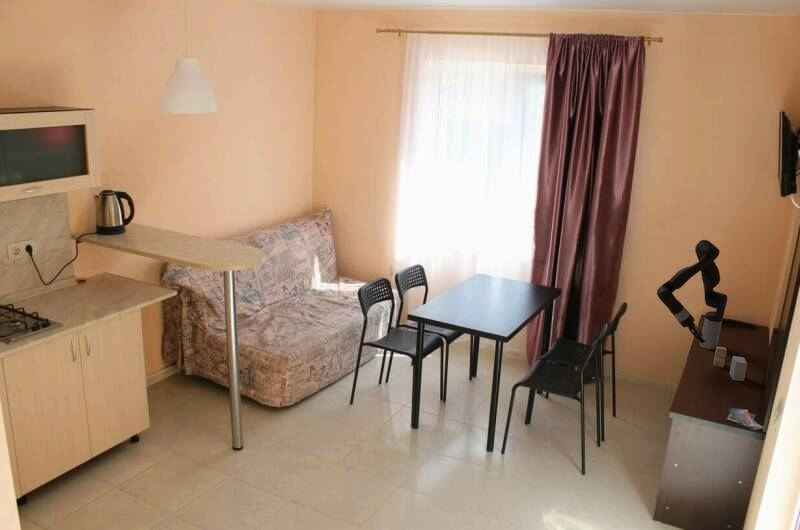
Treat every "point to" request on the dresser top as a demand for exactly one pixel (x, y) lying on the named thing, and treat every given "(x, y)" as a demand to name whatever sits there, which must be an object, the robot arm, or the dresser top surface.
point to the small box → (738, 368)
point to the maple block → (720, 356)
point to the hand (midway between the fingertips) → (702, 339)
